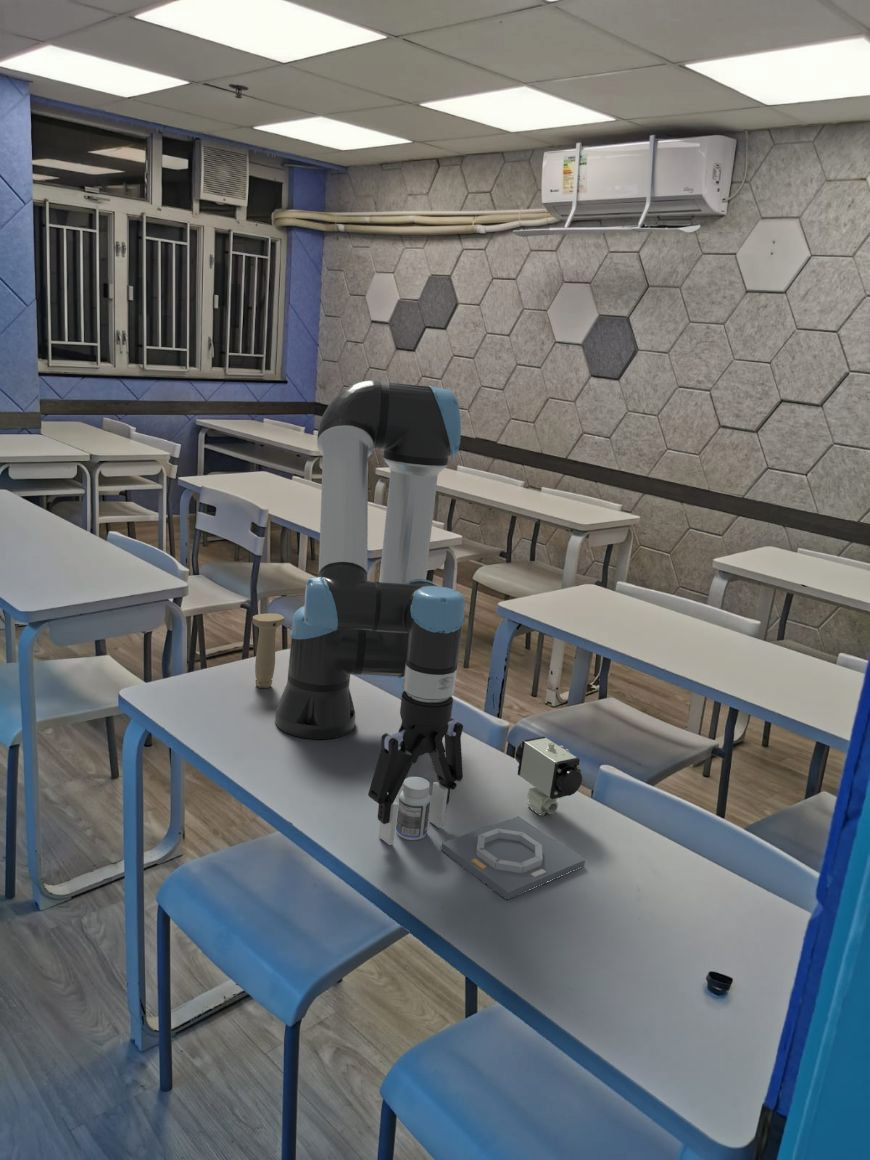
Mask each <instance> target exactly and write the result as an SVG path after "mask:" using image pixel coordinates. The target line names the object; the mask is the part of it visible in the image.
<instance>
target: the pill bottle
mask: <svg viewBox="0 0 870 1160" xmlns="http://www.w3.org/2000/svg"><path fill="white" fill-rule="evenodd" d="M430 788H431V784H430V781H428V780H427V779H426V778H424V777H420V776H408V777H406V778H405V780H404V782H403V784H402V791H401V792H400V793H399V796H398V809H397V817H396V826H395V833H396V834H397V835H398V837H400V838H403V839H404V840H408V841H418V840H421V839H423V838H424V837H426V835H427V831H428V824H429V812H430V804H431V795H430Z"/></svg>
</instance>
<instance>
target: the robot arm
mask: <svg viewBox="0 0 870 1160" xmlns="http://www.w3.org/2000/svg"><path fill="white" fill-rule="evenodd" d="M461 422H462V421H461V412H460V406H459V402H458V399H457V397H456V395H455V393H453V391H451V390H449V389H446V388H442V387H436V386H431V385H420V384H411V383H409V384H408V383H399V382H390V381H381V380H376V379H368V380H363V381H358V382H356V383H354V384H351V385H349V386H347V387H346V388H344V389H343V390H342V391H340V392H339V394H337V395H336V396H335V397H334V398H333V400H332V401H331V402H330V403H329V405H328V406H327V408H326V409H325V411H324V413H323V414H322V416H321V418H320V422H319V423H318V424H319V425H318V428H317V436H316V437H317V439H316V440H317V441H316V442H317V443H316V444H317V445H316V446H317V450H318V451H319V453H320V455H321V456H322V468H321V469H322V471H321V474H322V475H321V496H320V497H321V498H320V520H319V521H320V523H319V524H320V526H319V527H320V528H319V553H318V576H316V577H309V578H308V579H307V580H306V583H305V590H304V591H305V592H304V602H303V603H304V605H303V606H300V608H297V610H296V611H295V612H294V614H293V617H292V622H291V623H292V625H291V630H290V631H289V637H290V638H291V639H290V648H289V657H288V658H289V660H288V670H287V671H288V672H287V682H286V686H285V687H284V688H283V689H284V690H283V692H282V694H281V696H280V699H279V701H278V704H277V705H276V708H275V714H274V715H275V717H274V723H275V725H276V726H277V727H278V728H279V730H281V731H282V732H285V733H287V734H289V735H291V736H294V737H298V738H303V739H311V740H312V739H313V740H328V739H335V738H340V737H343V736H346V735H347V734H350V732H352V731H353V730H354V728H355V725H356V711H355V707H354V702H353V697H352V694H351V689H350V681H351V675H354V676H355V675H356V676H357V675H360V676H375V677H376V676H378V677H391V678H392V677H393V678H394V677H395V678H400V679H402V678H403V681H402V689H403V691H402V693H401V699H400V700H401V701H400V709H399V715H400V720H401V725H400V727H399V728H398V732H396V733H393V734H391V735H390V734H389V733H386V732H385V733H383V734H382V735H381V740H380V741H381V742H380V745H381V746H380V747H381V749H380V752H379V755H378V759H377V761H376V762H377V763H376V765H375V766H376V767H375V770H374V773H373V776H372V779H371V783H370V786H369V790H368V793H367V796H368V797H369V798H370V799H371V800H373V801H375V802H376V803H377V804H378V808H377V809H378V810H377V820H378V821H379V829H378V838H380V839H381V840H383V842H385V843H386V844H387V845H388V846H391V845H394V842H395V835H396V834H395V833H396V824H397V813H398V806H399V803H397V802H396V798H397V796H398V794H399V792H400V790H401V788H402V787H403V783H404V780H405V779H406V778H407V777H408V773H409V771H410V770H411V768H412V765H414V764H416V763H417V761H418V759H419V757H421V756H423V755H424V754H428V755H429V758H430V760H431V763H432V767H433V769H434V773H435V775H436V778H437V781H434V782H432V790H431V795H430V798H431V801H430V809H429V817H428V822H430V823H431V824H433V825H434V826H435V827H436V828H438V829H443V828H444V824H445V818H446V817H445V816H446V809H447V805H448V804H449V802H450V795H451V790H452V791H453V790H455V789H456V788H457V786H458V785H457V784H458V783H456V782H457V781H458V782H461V781H462V780H463V777H464V774H463V757H462V755H463V754H462V741H461V740H462V739H461V738H462V733H463V729H464V725H463V724H462V723H460V722H459V721H457V720H455V718H452V712H453V705H454V704H453V703H454V698H453V695H454V694H455V688H456V687H455V686H456V679H457V672H458V664H459V658H460V657H459V655H460V650H461V641H462V634H463V625H464V623H465V619H466V615H465V605H466V600H465V597H464V595H463V594H462V593H461V592H460V591H456V590H455V589H453V588H450V587H445V586H439V585H437V584H436V583H435V582H433V581H431V580H428V579H426V578H427V572H428V562H429V554H430V545H431V539H432V538H431V536H432V529H433V528H432V527H433V520H434V512H435V503H436V502H435V501H436V495H437V484H438V476H439V474H440V472H442V471H443V470H444V469H446V468H447V467H448V464H449V462H448V461H449V457H450V458H451V457H455V456H456V455H458V453H459V449H460V444H461V437H462V435H461V434H462V433H461V432H462V429H461V428H462V423H461ZM374 449H379V450H380V449H381V450H383V455H382V457H383V458H382V459H383V461H384V462H385V463H386V464H387V466H388V468H389V470H390V475H389V482H388V483H389V484H388V493H387V502H386V503H387V504H386V513H385V523H384V530H383V531H384V533H383V542H382V543H383V544H382V551H381V552H382V553H381V562H380V571H379V579H378V580H379V581H370V580H368V547H369V545H368V541H369V539H368V534H369V533H368V532H369V530H368V529H369V528H368V522H369V521H368V515H369V513H368V511H369V510H368V506H369V505H368V504H369V502H368V500H369V498H368V494H369V491H368V490H369V489H368V486H369V483H368V482H369V479H368V478H369V477H368V476H369V473H368V471H369V457H370V456H371V455H372V454H373V452H374ZM443 739H444V743H443Z"/></svg>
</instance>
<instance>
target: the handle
mask: <svg viewBox="0 0 870 1160" xmlns="http://www.w3.org/2000/svg"><path fill="white" fill-rule="evenodd" d="M284 622H285V616H283V615H282V614H280V613H271V612H269V613H259V614H255V615H253V616H252V624H253V625H254V626H256V627H258V639H257V648H256V654H255V665H254V666H255V667H254V668H255V669H254V671H255V686H256V687H258V688H259V689H268V688H270V687H271V686H272V685H273V678H274V673H275V667H276V636H277V635H276V634H277V633H276V632H277V628H279V627H280V626H282V625H284Z"/></svg>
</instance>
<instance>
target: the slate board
mask: <svg viewBox="0 0 870 1160" xmlns="http://www.w3.org/2000/svg"><path fill="white" fill-rule="evenodd" d="M440 850H441V851H442V852H443V853H444V852H445V853H444V854H446V855H447V854H448V855H449V856H448V855H447V856H448V857H450V858H451V857H452V858H453V859H452V858H451V859H452V860H454V859H455V860H456V861H457V862H456V861H455V860H454V861H455V862H456V863H458V864H459V865H460V864H461V865H462V868H464V869H466V870H467V871H468V872H470V873H471V874H472V875H473V876H475V878H477V879H479V880H480V881H481V880H482V881H483V882H482V881H481V882H482V883H484V884H487V885H486V886H488V887H489V888H490V889H492V890H493V891H494V890H495V891H494V892H496V894H498V895H500V896H501V897H502V896H503V897H504V899H505V898H506V899H508V900H511V899H513V898H515V897H518V896H519V895H518V894H520V895H522V894H524V893H523V892H525V891H527V892H529V891H530V890H529V889H532V888H534V887H536V886H539V885H541V884H543V883H546V882H547V881H550V880H552V879H554V878H557V877H559V876H561V875H564V874H566V873H568V872H570V871H573V870H576V869H578V868H580V867H583V866H584V867H585V864H586V859H585V858H584V857H582V856H580V855H579V854H577V853H576V852H574V851H573V850H571V849H570V848H568V847H566V845H564V844H562V843H561V842H559V841H557V840H556V839H555V838H553V837H552V836H550V835H548V834H547V833H545V832H544V831H542V830H541V829H539V828H538V827H536V826H535V825H533V824H531V823H529V822H528V821H527V820H526V819H524V818H522V817H521V816H519V815H518V816H514V817H511V818H509V819H506V820H503V821H500V822H498V823H494V824H492V825H490V826H486V827H484V828H481V829H477V830H475V831H471V832H469V833H466V834H464V835H463V834H462V835H460V836H458V837H455V838H451V839H450V840H449V839H448V840H446V841H443V842H442V843H441V847H440ZM461 865H460V866H461ZM584 867H583V868H584ZM580 869H581V868H580ZM578 870H579V869H578ZM576 871H577V870H576ZM573 872H574V871H573ZM566 875H567V874H566ZM564 876H565V875H564ZM559 878H560V877H559ZM557 879H558V878H557ZM552 881H553V880H552ZM550 882H551V881H550ZM546 884H547V883H546ZM543 885H544V884H543ZM541 886H542V885H541ZM539 887H540V886H539ZM536 888H537V887H536ZM534 889H535V888H534ZM528 890H529V891H528ZM532 890H533V889H532ZM521 893H522V894H521ZM525 893H526V892H525ZM517 895H518V896H517ZM503 897H502V898H503ZM512 897H513V898H512ZM510 898H511V899H510ZM506 899H505V900H506Z"/></svg>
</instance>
